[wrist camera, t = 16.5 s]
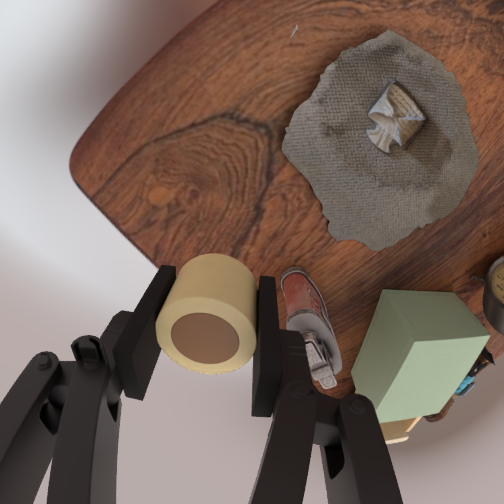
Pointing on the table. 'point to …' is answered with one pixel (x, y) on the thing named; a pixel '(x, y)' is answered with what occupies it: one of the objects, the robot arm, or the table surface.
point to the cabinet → (416, 352)
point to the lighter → (311, 325)
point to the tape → (210, 315)
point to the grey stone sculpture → (384, 141)
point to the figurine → (464, 384)
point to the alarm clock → (494, 294)
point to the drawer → (397, 429)
